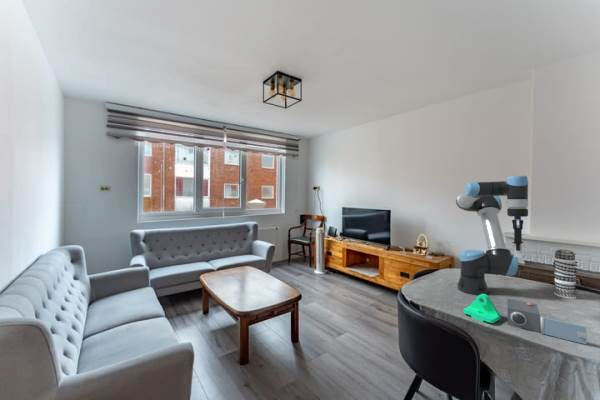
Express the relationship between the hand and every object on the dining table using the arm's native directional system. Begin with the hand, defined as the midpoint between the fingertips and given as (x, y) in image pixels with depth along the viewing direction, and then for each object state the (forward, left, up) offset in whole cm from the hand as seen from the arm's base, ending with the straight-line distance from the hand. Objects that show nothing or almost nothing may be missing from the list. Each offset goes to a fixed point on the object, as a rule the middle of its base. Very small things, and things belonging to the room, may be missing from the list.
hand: (518, 256), depth 118 cm
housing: (+1, -13, -26) cm, 29 cm away
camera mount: (-13, -18, -27) cm, 35 cm away
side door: (+12, -20, -26) cm, 35 cm away
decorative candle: (+20, +38, -27) cm, 51 cm away
